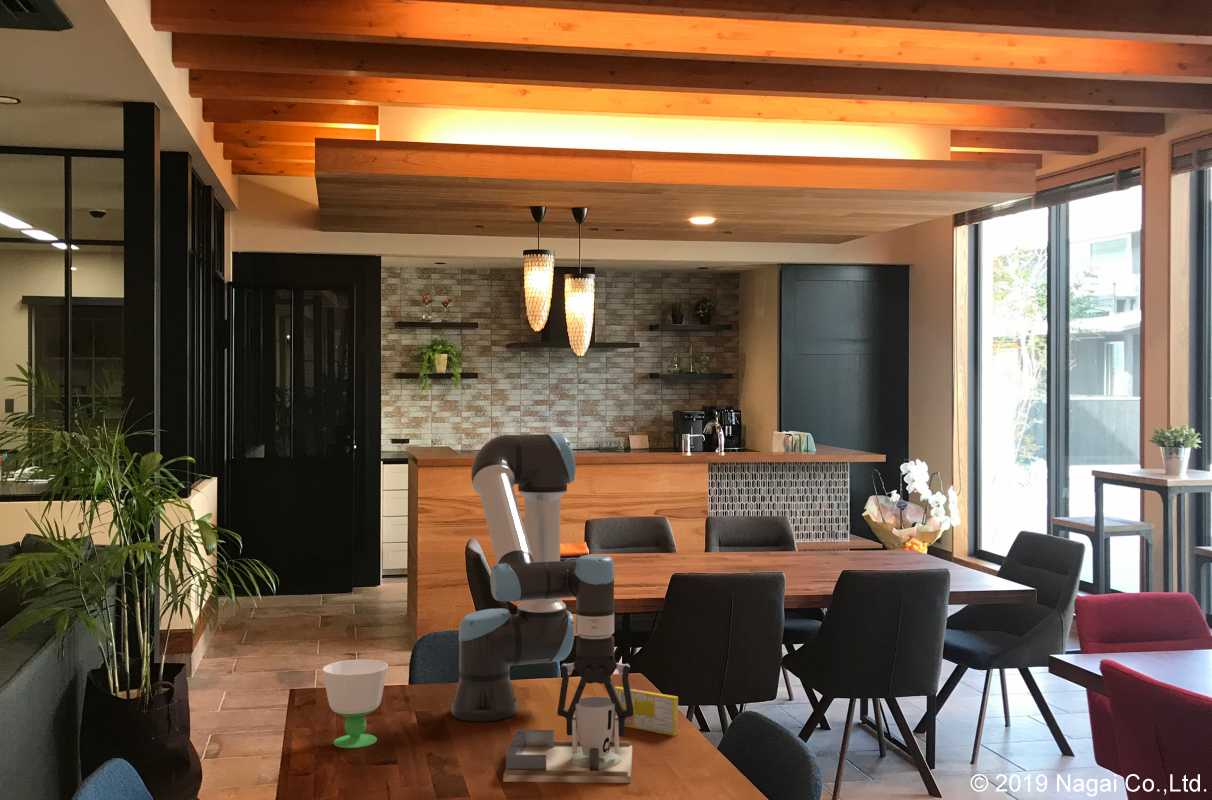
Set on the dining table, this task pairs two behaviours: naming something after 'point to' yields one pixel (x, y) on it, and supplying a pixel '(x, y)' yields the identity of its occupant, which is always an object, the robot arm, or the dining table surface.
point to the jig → (577, 765)
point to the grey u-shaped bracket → (529, 740)
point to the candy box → (651, 711)
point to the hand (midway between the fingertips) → (595, 751)
